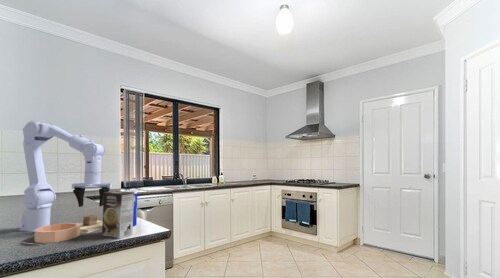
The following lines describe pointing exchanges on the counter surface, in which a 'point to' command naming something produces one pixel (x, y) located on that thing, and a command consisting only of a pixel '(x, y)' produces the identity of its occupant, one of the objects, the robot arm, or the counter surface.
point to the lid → (90, 224)
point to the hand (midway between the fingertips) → (91, 206)
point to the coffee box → (118, 214)
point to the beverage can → (134, 207)
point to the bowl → (56, 232)
